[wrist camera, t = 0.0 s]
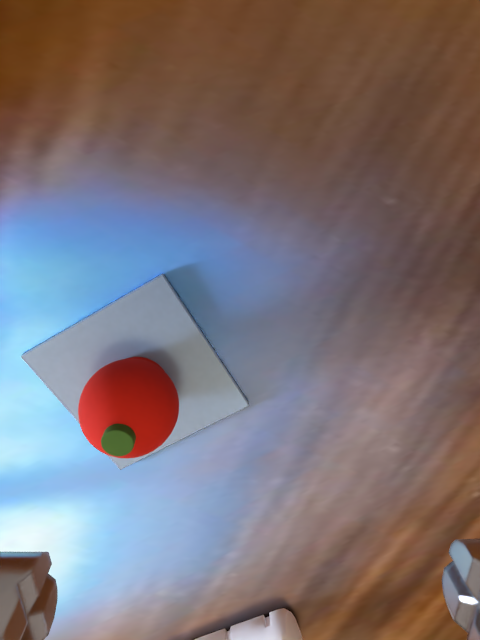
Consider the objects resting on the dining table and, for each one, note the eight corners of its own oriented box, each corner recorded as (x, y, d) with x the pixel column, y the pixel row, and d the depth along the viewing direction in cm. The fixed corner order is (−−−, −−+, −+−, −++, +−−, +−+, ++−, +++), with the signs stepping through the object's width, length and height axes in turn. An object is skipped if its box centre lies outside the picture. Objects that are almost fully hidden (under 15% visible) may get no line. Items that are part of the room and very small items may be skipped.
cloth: (23, 353, 25) (20, 356, 25) (163, 272, 24) (162, 274, 23) (121, 466, 29) (120, 470, 28) (248, 402, 27) (249, 405, 27)
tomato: (89, 342, 25) (51, 397, 19) (181, 342, 25) (169, 395, 19) (99, 419, 27) (69, 487, 21) (184, 418, 27) (175, 485, 22)
